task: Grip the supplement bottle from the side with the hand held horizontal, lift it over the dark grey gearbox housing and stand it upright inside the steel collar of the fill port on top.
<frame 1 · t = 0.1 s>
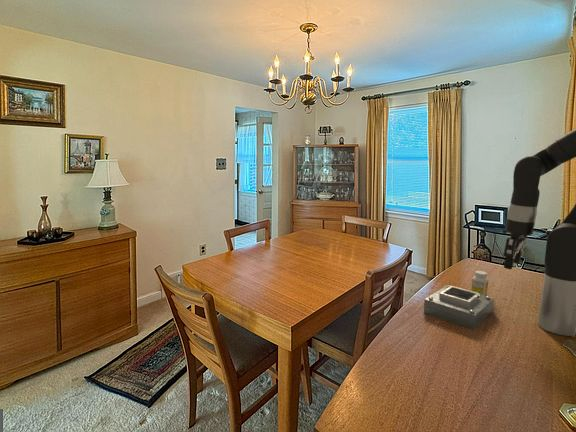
hand: (511, 265, 106), 17 cm above the cabinet, tool pointing down, fingers open, 8 cm apart
supplement bottle: (478, 296, 124), on the cabinet
gearbox: (458, 312, 111), on the cabinet
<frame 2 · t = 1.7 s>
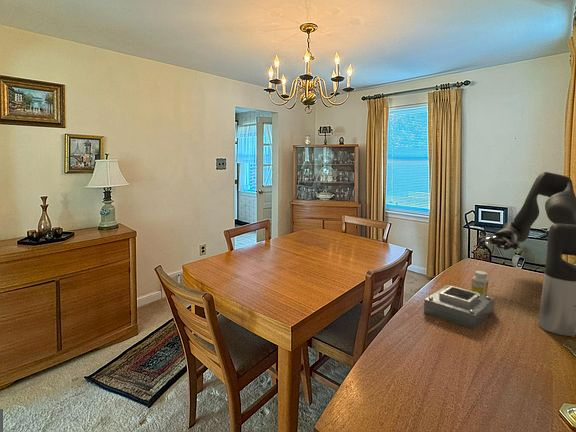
hand: (492, 245, 129), 18 cm above the cabinet, tool horizontal, fingers open, 8 cm apart
nothing on the cabinet moved.
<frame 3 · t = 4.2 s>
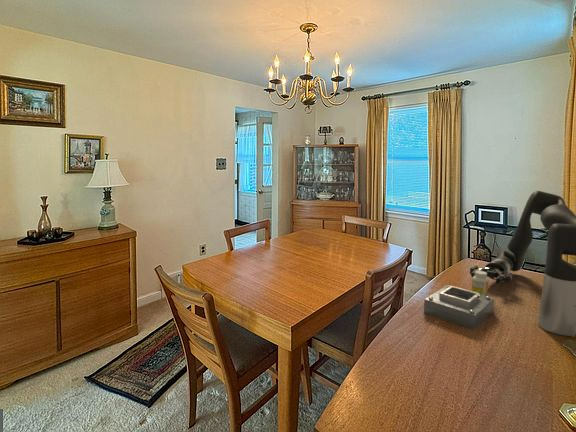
hand: (484, 278, 126), 6 cm above the cabinet, tool horizontal, fingers open, 8 cm apart
nothing on the cabinet moved.
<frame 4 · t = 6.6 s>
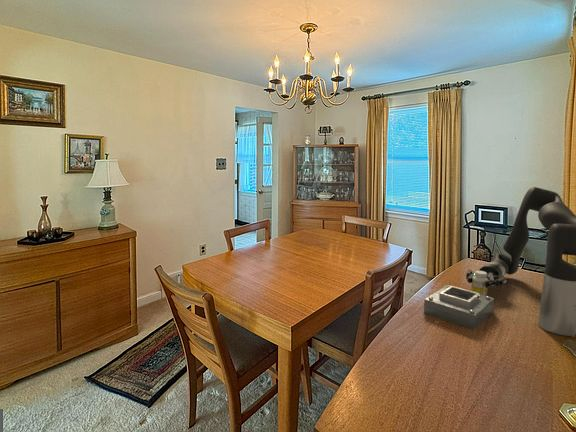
hand: (477, 282, 121), 6 cm above the cabinet, tool horizontal, fingers closed on supplement bottle, 5 cm apart
supplement bottle: (478, 296, 124), on the cabinet, touching gripper
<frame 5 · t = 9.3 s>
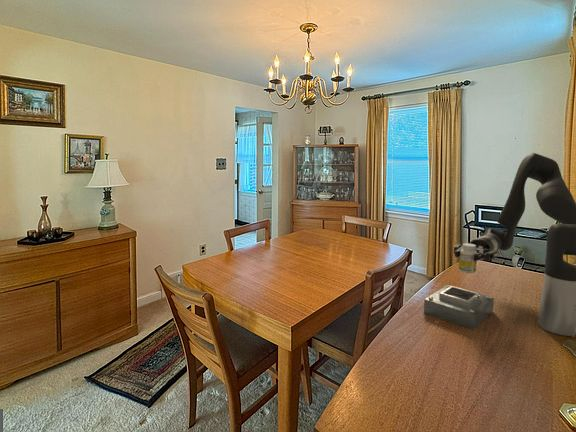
hand: (465, 256, 109), 20 cm above the cabinet, tool horizontal, fingers closed on supplement bottle, 5 cm apart
supplement bottle: (467, 271, 112), point 14 cm above the cabinet, touching gripper
when the fingers open (12 cm above the cabinet, at t = 12.4 s): supplement bottle stays where it is, resting on gearbox.
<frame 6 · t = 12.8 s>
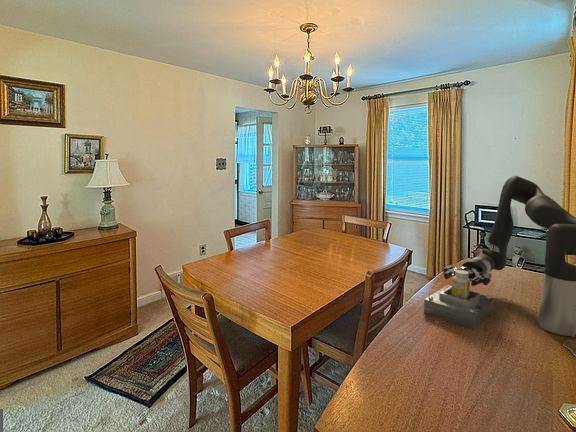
hand: (458, 279, 108), 12 cm above the cabinet, tool horizontal, fingers open, 8 cm apart
supplement bottle: (459, 298, 110), point 5 cm above the cabinet, touching gearbox
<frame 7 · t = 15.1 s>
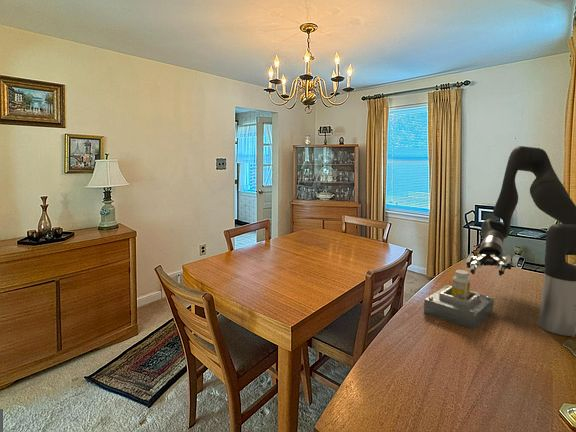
hand: (486, 272, 115), 12 cm above the cabinet, tool tilted 70°, fingers open, 8 cm apart
nothing on the cabinet moved.
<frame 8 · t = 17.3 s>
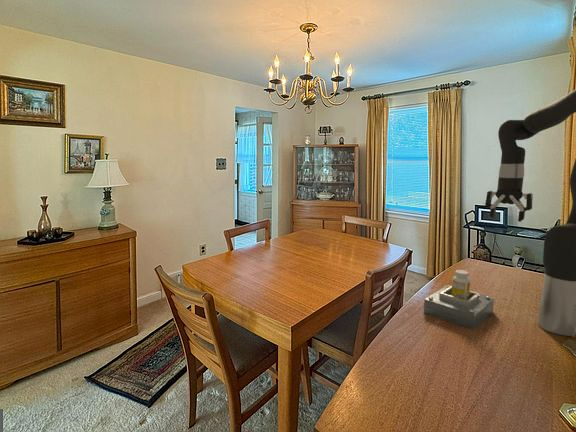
hand: (506, 219, 119), 30 cm above the cabinet, tool pointing down, fingers open, 8 cm apart
nothing on the cabinet moved.
at the end: supplement bottle 0.1 cm off-centre on the gearbox, point 5.0 cm above the gearbox's base; supplement bottle tilted 0°; the gripper is holding nothing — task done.
